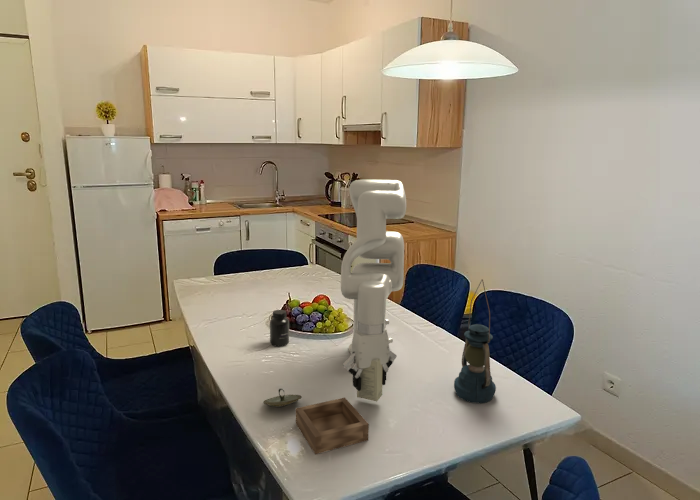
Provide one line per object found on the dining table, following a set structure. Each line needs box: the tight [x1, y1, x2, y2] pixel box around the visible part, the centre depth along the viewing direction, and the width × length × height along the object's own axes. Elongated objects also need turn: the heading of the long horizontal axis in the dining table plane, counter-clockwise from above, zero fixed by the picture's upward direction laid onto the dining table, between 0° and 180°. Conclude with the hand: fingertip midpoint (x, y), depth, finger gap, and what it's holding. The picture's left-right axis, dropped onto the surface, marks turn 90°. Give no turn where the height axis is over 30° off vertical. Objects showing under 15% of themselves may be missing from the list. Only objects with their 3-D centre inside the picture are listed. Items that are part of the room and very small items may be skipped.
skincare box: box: [356, 359, 383, 403], centre depth 139 cm, size 6×4×12 cm
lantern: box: [453, 279, 497, 404], centre depth 143 cm, size 14×12×35 cm
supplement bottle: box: [269, 309, 290, 347], centre depth 180 cm, size 7×7×12 cm
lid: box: [263, 388, 303, 408], centre depth 138 cm, size 11×10×5 cm
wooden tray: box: [295, 397, 370, 455], centre depth 127 cm, size 14×14×4 cm
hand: (369, 385), depth 140 cm, fingers closed on skincare box, 7 cm apart
